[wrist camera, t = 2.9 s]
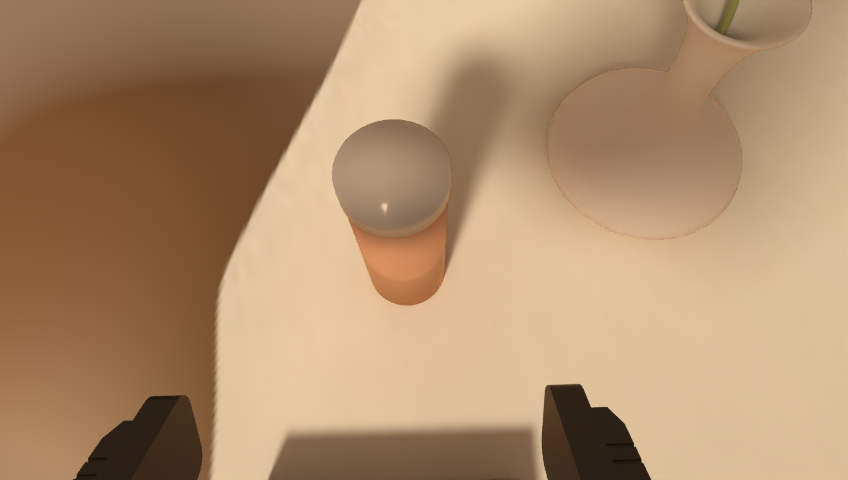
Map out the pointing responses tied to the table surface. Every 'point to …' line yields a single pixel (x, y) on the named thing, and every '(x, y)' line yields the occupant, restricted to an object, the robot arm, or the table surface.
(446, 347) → the table surface
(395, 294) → the shaker
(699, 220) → the flower in vase
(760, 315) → the table surface
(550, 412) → the robot arm
